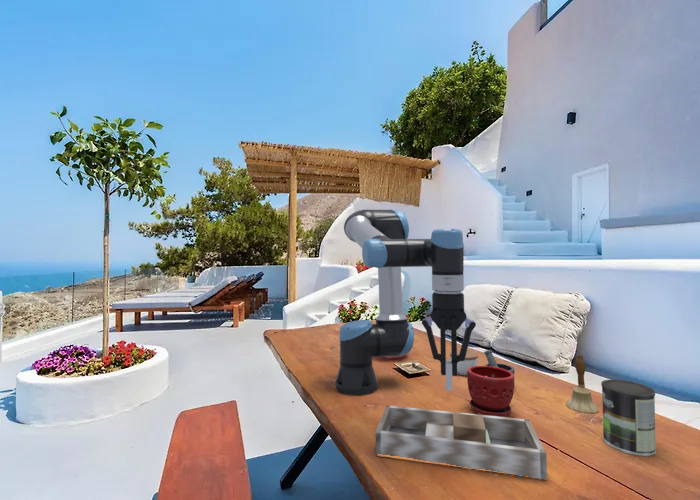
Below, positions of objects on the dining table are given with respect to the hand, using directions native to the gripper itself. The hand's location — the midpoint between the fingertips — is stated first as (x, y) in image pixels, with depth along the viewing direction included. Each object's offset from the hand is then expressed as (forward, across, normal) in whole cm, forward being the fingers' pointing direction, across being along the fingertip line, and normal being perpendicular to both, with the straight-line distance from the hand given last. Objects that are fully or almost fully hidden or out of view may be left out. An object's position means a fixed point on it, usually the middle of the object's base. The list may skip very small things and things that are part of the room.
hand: (449, 388), depth 85 cm
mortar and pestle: (+15, +17, +46) cm, 51 cm away
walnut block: (+12, +4, 0) cm, 13 cm away
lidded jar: (+15, +6, +58) cm, 60 cm away
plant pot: (+15, +12, +24) cm, 30 cm away
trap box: (+14, +1, 0) cm, 14 cm away
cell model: (+16, -25, +74) cm, 79 cm away
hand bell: (+15, +39, +33) cm, 53 cm away
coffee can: (+14, +42, +12) cm, 46 cm away
